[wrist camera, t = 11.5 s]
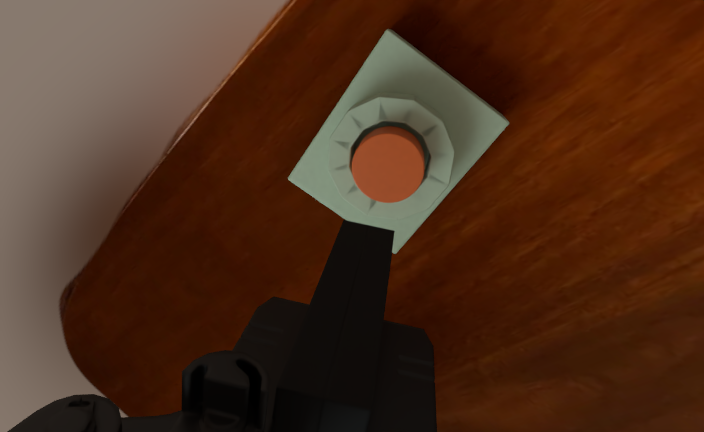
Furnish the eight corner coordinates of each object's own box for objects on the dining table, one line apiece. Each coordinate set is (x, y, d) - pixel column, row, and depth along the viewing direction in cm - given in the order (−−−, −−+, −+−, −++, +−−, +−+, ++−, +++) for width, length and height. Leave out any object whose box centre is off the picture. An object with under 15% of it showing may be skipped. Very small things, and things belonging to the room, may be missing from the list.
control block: (390, 28, 24) (384, 28, 20) (503, 115, 25) (517, 130, 21) (296, 168, 28) (277, 189, 24) (397, 239, 29) (393, 269, 25)
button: (382, 111, 22) (379, 117, 21) (438, 153, 23) (440, 162, 21) (343, 166, 24) (337, 176, 22) (396, 204, 24) (394, 216, 23)
